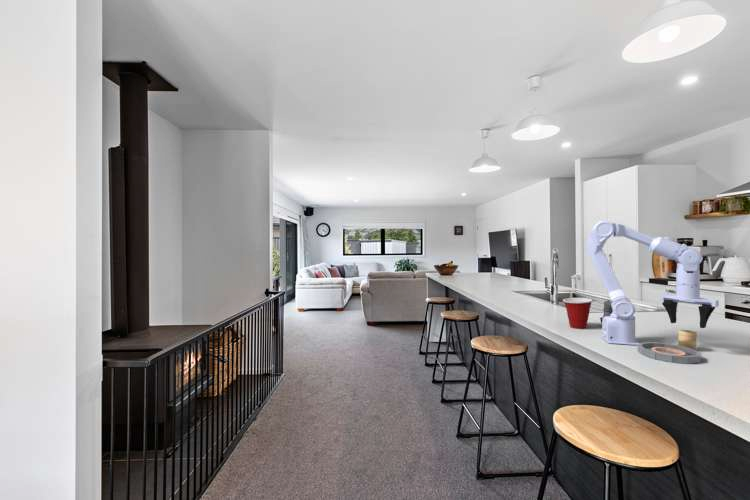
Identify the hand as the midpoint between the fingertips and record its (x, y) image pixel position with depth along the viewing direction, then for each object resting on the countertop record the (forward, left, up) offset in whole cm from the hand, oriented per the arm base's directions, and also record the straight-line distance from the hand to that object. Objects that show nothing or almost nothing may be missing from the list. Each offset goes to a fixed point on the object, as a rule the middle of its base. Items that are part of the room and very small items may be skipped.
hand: (687, 325), depth 113 cm
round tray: (-9, -9, -8) cm, 15 cm away
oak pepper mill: (0, 0, -8) cm, 8 cm away
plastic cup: (-27, +23, -8) cm, 36 cm away
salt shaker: (-15, +26, -8) cm, 31 cm away
